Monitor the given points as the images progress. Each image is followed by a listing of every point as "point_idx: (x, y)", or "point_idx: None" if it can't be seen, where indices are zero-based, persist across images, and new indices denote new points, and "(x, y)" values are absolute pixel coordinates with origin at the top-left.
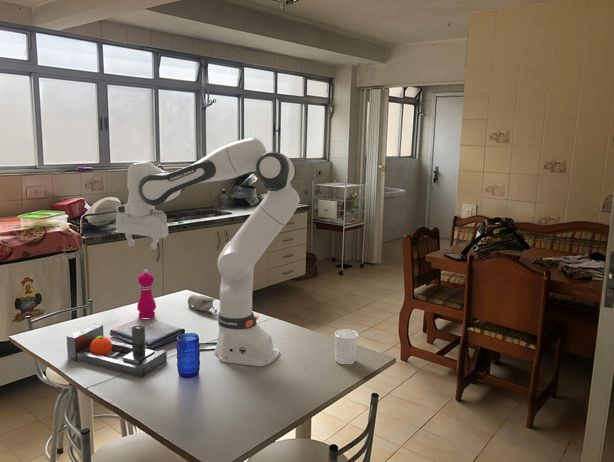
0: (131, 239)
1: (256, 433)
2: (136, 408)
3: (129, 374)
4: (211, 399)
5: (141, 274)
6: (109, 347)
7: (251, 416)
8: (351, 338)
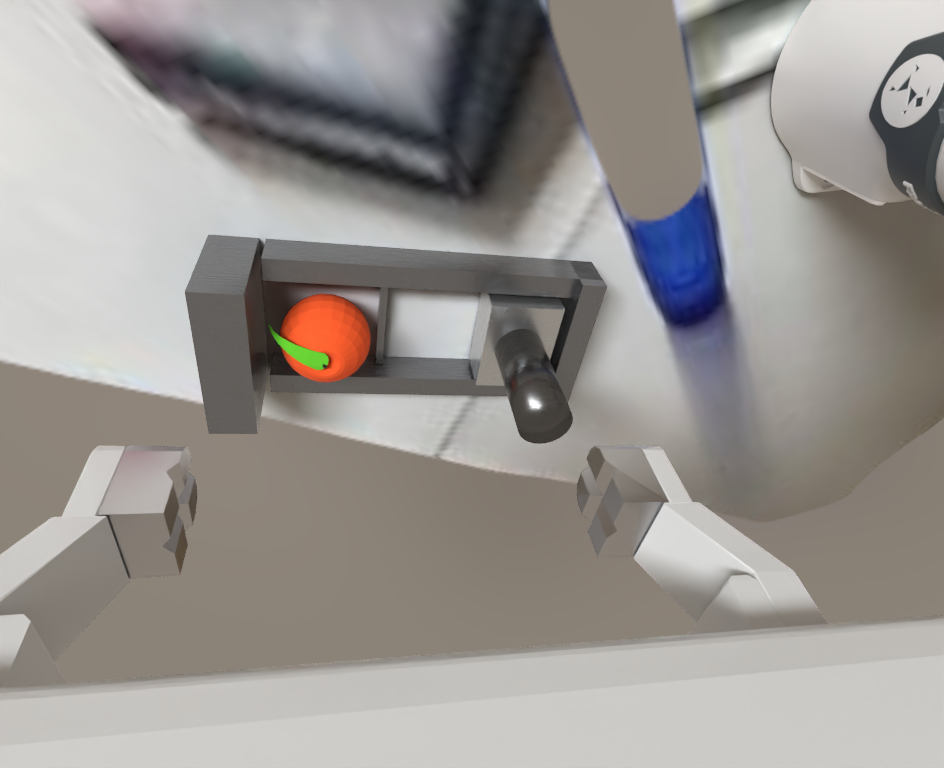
0: (95, 562)
1: (878, 450)
2: None
3: None
4: (779, 390)
5: None
6: (369, 341)
7: (876, 411)
8: None
